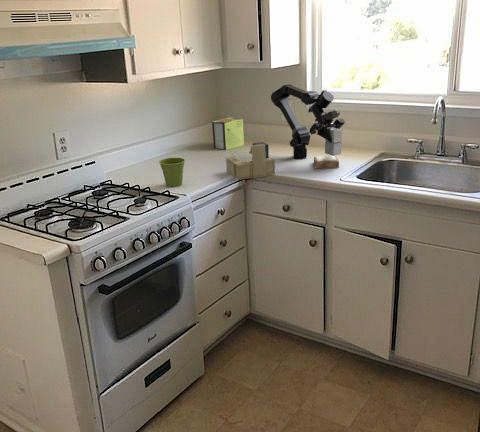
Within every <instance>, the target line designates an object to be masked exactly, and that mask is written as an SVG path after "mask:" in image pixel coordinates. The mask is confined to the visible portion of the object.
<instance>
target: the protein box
mask: <svg viewBox="0 0 480 432" xmlns="http://www.w3.org/2000/svg"><path fill="white" fill-rule="evenodd" d="M211 127H212V129H211V130H212V139H213V141H212V142H213V148H214V149H217V150H223V151H228V150H231V149H235V148H239V147H242V146H245V137H244V135H245V133H244V118H239V117H226V118H221V119H218V120H212V122H211Z"/></svg>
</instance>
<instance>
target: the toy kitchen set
mask: <svg viewBox="0 0 480 432" xmlns="http://www.w3.org/2000/svg"><path fill="white" fill-rule="evenodd" d="M249 150H250V151H248V153H249V155H251V156H252V157H251V159H252V160H240V159H238V158H236V157H234V156H229V157H226V158H225V162H226V173H228V174H230V175H231V176H232V177H233V178H236V179H237V180H246V179H255V178H261V177H266V176H271V175H276V158H274V157H269V158H266V155H265V144H259V145H253V144H252V145H251V146H250V149H249Z"/></svg>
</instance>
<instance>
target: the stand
mask: <svg viewBox="0 0 480 432" xmlns="http://www.w3.org/2000/svg"><path fill="white" fill-rule="evenodd" d="M313 164H314V167H315V169H329V168H330V169H333V168H334V169H338V168H339V167H340V160H339V159H338V157H337V155H335V156H332V155H324V156H321V155H320V156H319V155H318V156H313Z"/></svg>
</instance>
